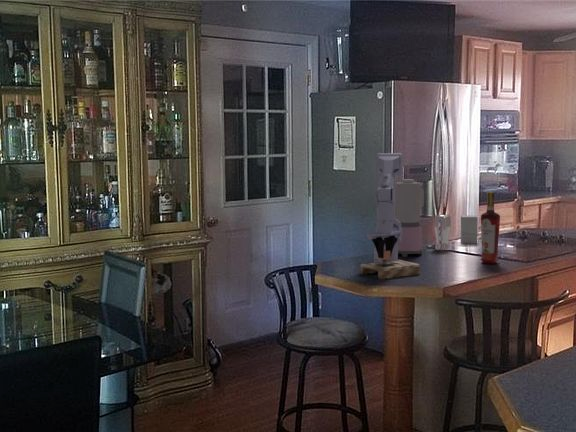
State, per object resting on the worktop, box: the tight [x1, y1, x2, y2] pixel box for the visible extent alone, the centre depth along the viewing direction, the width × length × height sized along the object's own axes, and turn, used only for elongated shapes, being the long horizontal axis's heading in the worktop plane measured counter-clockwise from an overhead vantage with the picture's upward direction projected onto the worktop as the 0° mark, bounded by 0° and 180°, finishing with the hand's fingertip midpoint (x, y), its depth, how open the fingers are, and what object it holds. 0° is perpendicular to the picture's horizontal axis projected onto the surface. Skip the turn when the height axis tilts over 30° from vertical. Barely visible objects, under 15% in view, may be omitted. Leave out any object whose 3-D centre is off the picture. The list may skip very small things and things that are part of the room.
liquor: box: [480, 191, 501, 265], centre depth 277 cm, size 7×7×28 cm
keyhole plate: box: [360, 259, 421, 280], centre depth 260 cm, size 18×12×4 cm, turn 119°
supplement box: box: [460, 214, 479, 244], centre depth 332 cm, size 7×7×13 cm
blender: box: [394, 178, 426, 258], centre depth 301 cm, size 16×12×32 cm
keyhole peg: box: [379, 249, 390, 267], centre depth 258 cm, size 4×4×8 cm
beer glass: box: [434, 214, 452, 251], centre depth 313 cm, size 7×7×15 cm
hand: (384, 257), depth 258 cm, fingers closed on keyhole peg, 3 cm apart
